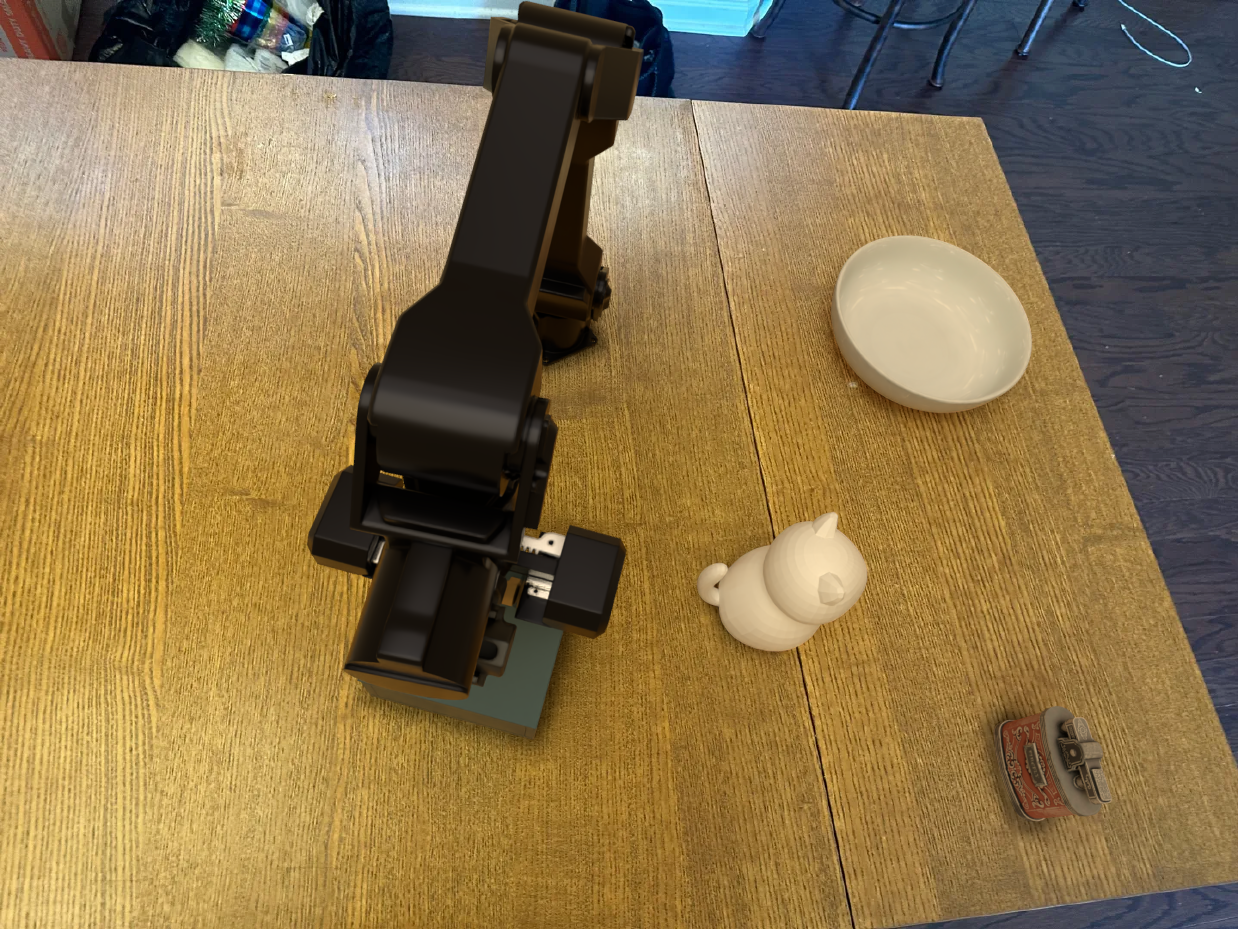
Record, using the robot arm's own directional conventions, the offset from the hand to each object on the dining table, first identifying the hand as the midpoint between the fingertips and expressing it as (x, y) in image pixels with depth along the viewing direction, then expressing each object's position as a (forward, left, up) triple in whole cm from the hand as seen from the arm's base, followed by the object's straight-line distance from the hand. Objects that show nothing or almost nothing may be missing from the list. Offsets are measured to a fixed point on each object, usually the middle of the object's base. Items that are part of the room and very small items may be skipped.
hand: (475, 589), depth 58 cm
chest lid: (+1, +1, -3) cm, 3 cm away
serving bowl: (-54, -5, -12) cm, 56 cm away
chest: (+1, +1, -12) cm, 12 cm away
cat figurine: (-22, +10, -12) cm, 27 cm away
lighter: (-34, +33, -12) cm, 49 cm away
